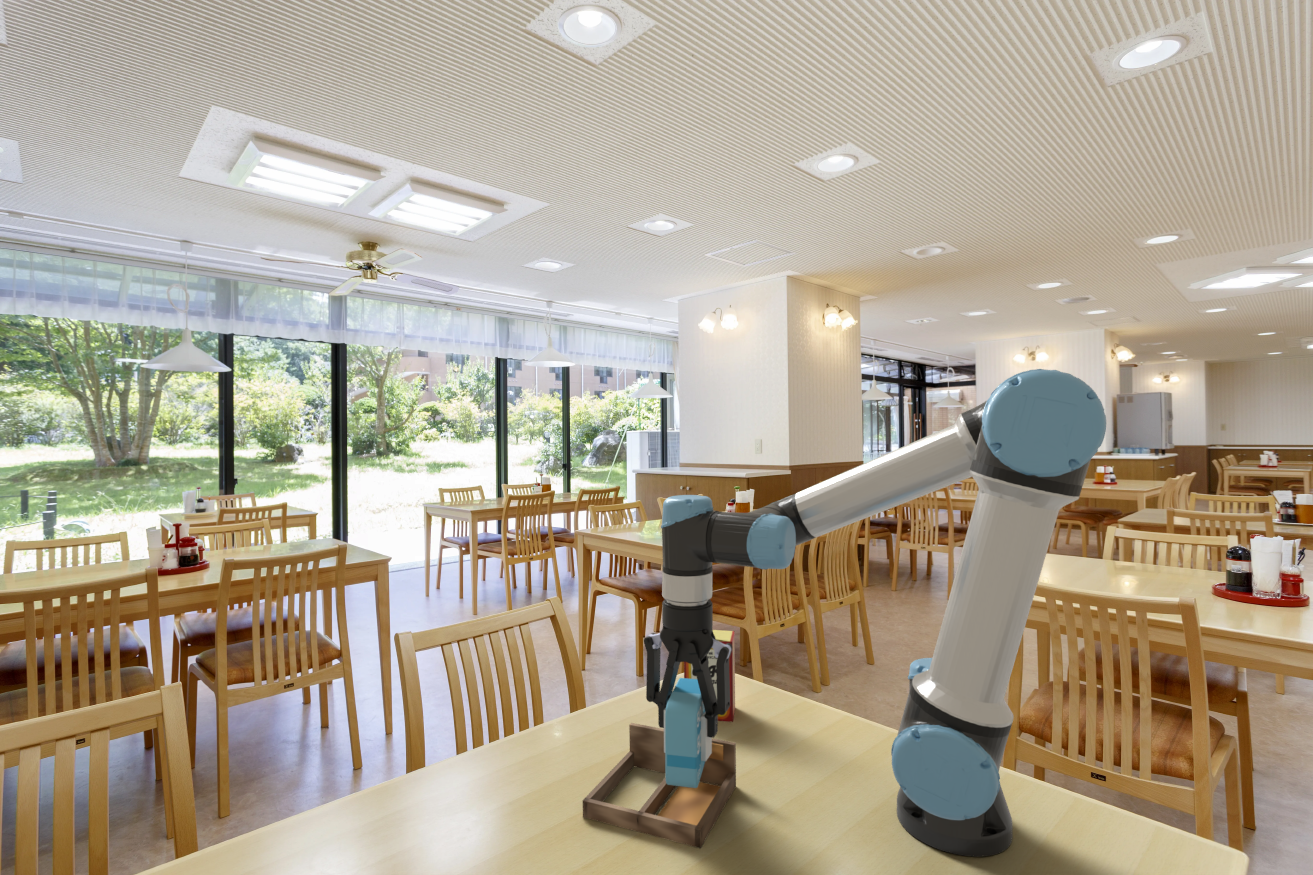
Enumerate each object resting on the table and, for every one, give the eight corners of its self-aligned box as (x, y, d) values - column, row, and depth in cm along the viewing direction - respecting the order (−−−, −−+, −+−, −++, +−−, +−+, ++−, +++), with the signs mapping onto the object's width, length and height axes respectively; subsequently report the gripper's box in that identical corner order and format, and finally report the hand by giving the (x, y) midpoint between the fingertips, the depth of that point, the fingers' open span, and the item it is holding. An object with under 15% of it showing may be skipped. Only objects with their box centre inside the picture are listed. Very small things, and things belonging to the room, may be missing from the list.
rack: (736, 786, 105) (735, 742, 105) (700, 848, 90) (699, 797, 90) (631, 763, 112) (631, 722, 112) (582, 816, 97) (582, 769, 97)
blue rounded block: (696, 792, 93) (696, 708, 93) (665, 789, 94) (664, 705, 94) (708, 751, 105) (708, 676, 104) (680, 748, 106) (680, 674, 105)
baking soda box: (684, 718, 129) (683, 637, 129) (688, 704, 136) (688, 627, 135) (733, 721, 128) (732, 639, 127) (735, 707, 134) (734, 629, 134)
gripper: (753, 599, 98) (753, 753, 99) (642, 587, 106) (643, 730, 106) (739, 612, 91) (739, 777, 92) (621, 598, 99) (622, 752, 99)
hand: (687, 752), depth 99 cm, fingers closed on blue rounded block, 5 cm apart
